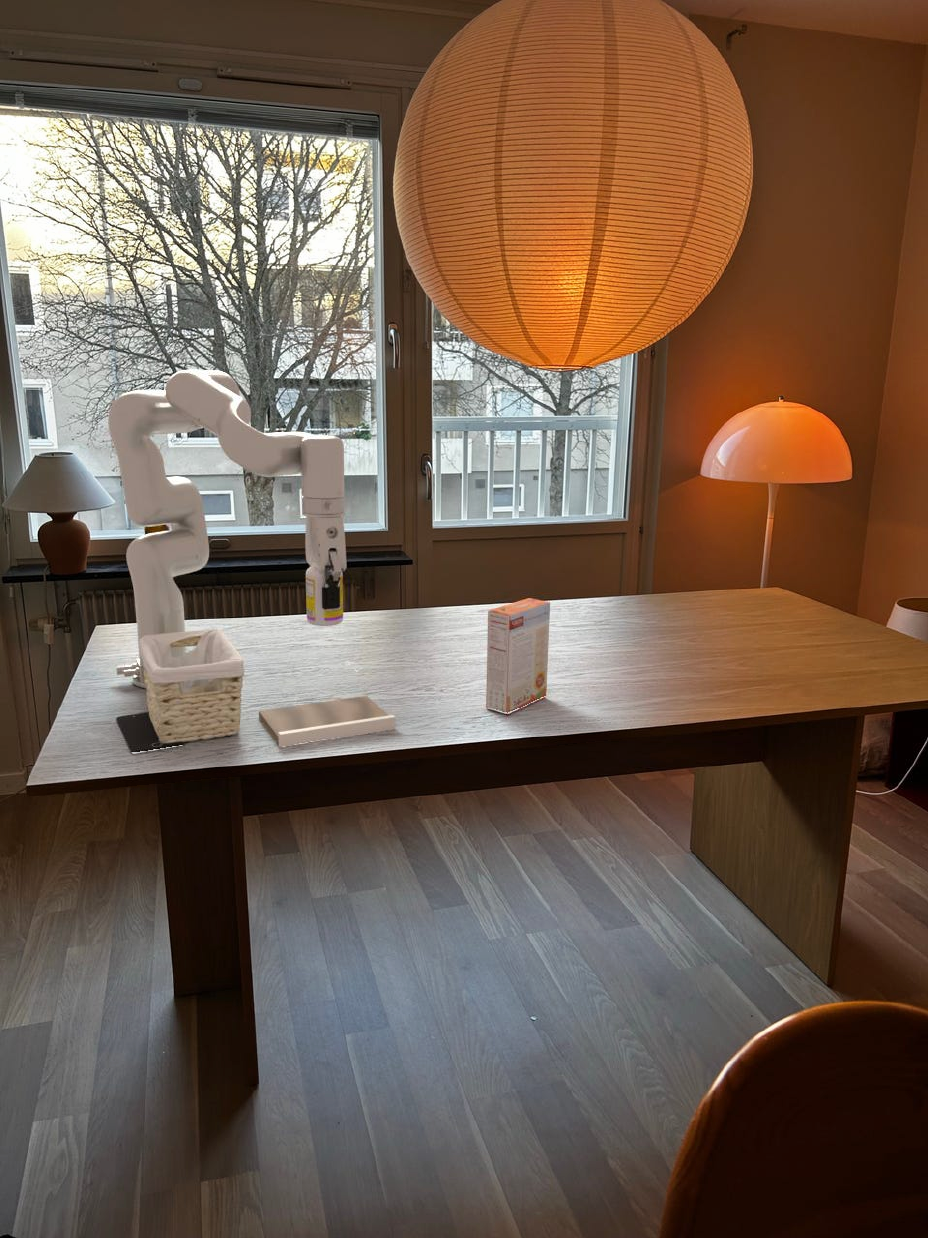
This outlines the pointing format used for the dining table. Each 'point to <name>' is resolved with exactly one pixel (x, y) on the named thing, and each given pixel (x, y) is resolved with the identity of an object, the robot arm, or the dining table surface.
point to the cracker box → (517, 654)
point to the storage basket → (192, 685)
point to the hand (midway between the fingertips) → (324, 602)
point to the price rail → (337, 730)
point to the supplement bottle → (314, 600)
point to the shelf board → (319, 714)
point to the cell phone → (141, 733)
